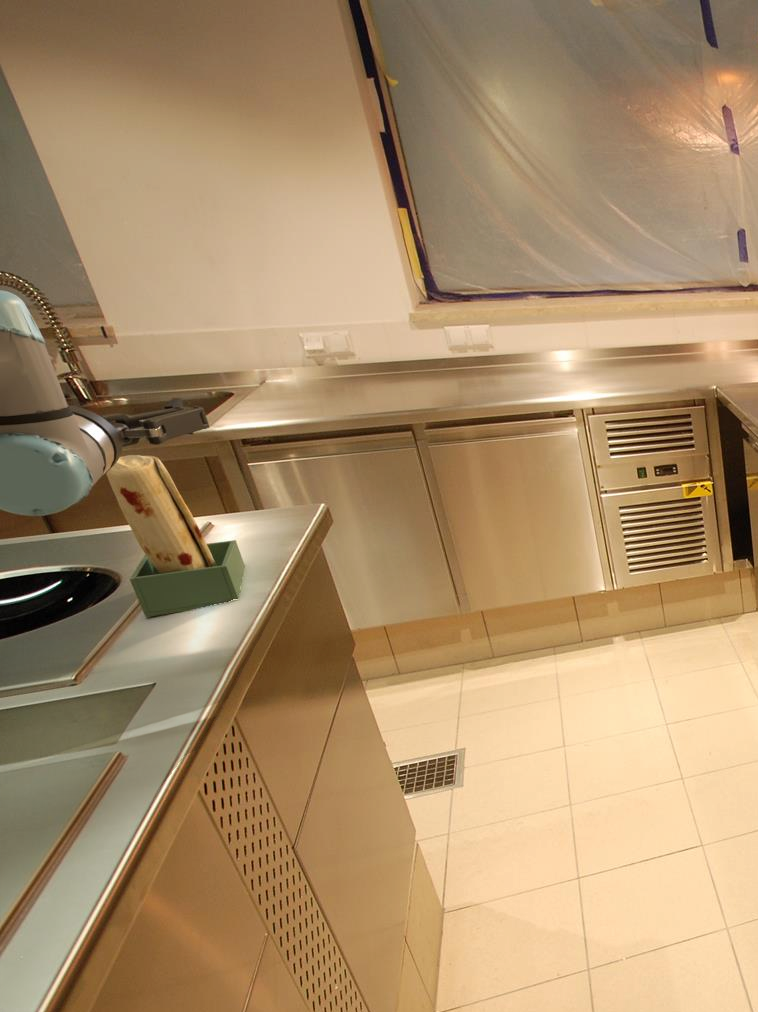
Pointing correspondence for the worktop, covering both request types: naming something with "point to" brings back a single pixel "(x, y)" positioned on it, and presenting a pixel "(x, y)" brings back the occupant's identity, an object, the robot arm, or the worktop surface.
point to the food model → (158, 515)
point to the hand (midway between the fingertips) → (108, 412)
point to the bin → (190, 583)
